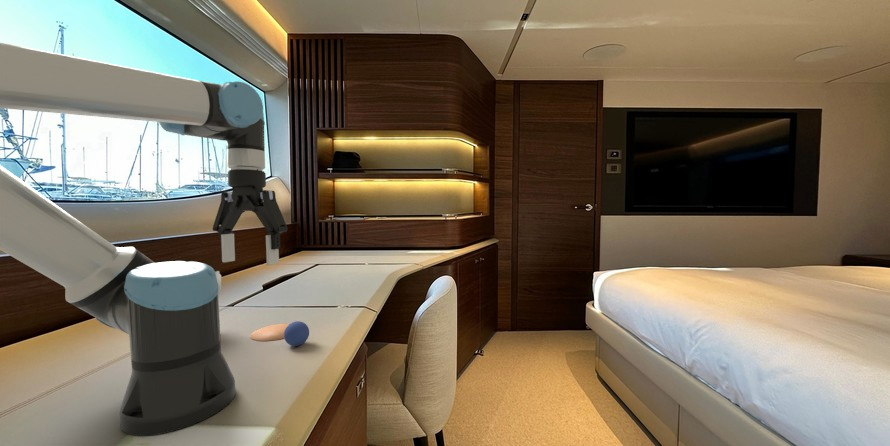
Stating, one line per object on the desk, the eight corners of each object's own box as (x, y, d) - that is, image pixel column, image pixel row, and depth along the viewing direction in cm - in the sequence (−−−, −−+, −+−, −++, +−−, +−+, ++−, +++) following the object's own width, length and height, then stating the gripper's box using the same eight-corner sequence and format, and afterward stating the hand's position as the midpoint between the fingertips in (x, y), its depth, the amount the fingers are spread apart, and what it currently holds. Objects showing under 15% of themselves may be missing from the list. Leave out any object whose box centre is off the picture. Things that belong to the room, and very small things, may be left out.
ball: (311, 346, 82) (310, 323, 81) (285, 351, 79) (283, 327, 79) (308, 338, 86) (307, 316, 86) (283, 343, 84) (282, 320, 84)
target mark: (303, 335, 89) (303, 334, 89) (249, 344, 84) (249, 343, 84) (299, 321, 100) (299, 320, 100) (251, 329, 94) (251, 328, 94)
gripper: (302, 168, 79) (305, 262, 80) (222, 174, 88) (226, 258, 89) (276, 165, 72) (279, 267, 73) (192, 171, 81) (196, 262, 82)
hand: (250, 262), depth 81 cm, fingers open, 13 cm apart
